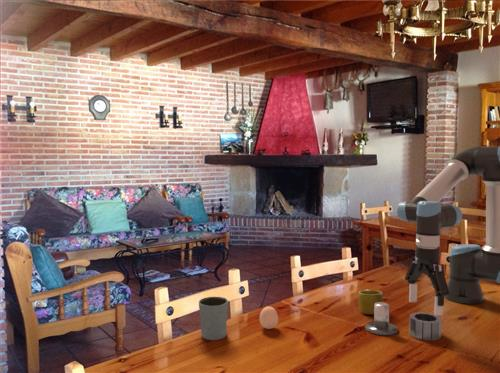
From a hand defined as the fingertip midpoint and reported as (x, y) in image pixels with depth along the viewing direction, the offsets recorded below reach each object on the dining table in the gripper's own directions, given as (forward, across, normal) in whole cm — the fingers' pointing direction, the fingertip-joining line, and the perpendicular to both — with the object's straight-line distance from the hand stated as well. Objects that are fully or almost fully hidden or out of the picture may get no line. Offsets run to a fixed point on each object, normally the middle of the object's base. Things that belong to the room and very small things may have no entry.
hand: (425, 308), depth 154 cm
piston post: (+10, -8, -12) cm, 17 cm away
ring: (+9, 0, 0) cm, 9 cm away
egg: (+10, -20, -50) cm, 54 cm away
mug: (+10, -26, -6) cm, 28 cm away
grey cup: (+11, -20, -70) cm, 73 cm away
